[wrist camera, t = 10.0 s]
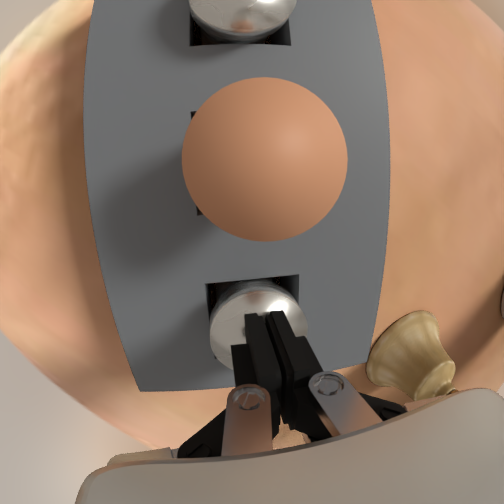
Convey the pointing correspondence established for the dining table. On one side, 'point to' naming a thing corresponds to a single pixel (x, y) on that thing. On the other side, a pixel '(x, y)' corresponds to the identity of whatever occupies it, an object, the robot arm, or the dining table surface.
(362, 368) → the dining table surface
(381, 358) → the hand bell
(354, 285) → the panel
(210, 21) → the ball
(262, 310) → the silver rounded piece
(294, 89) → the peach grooved knob
